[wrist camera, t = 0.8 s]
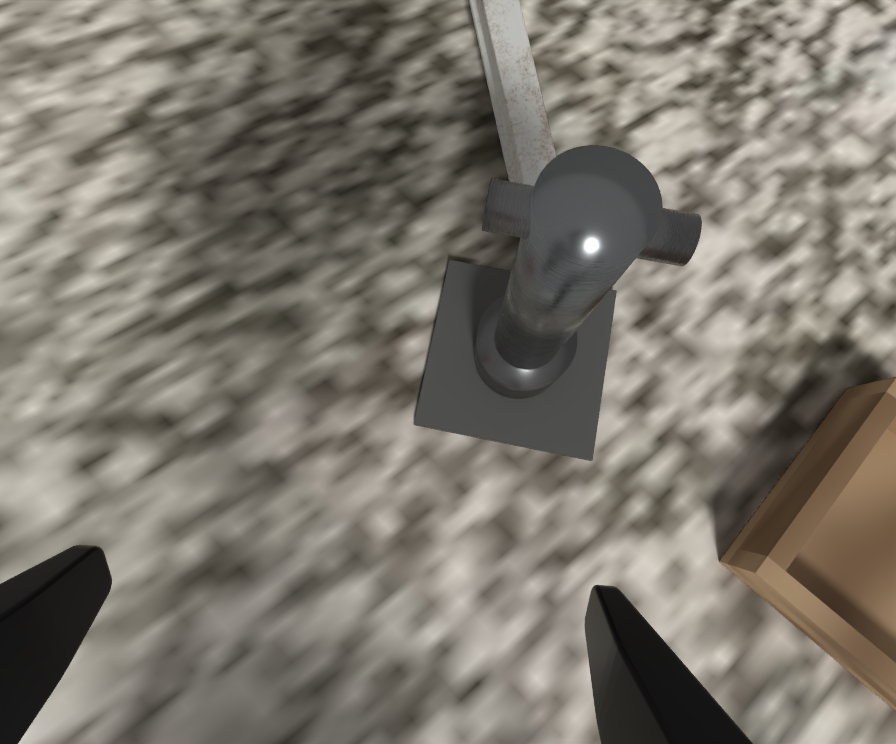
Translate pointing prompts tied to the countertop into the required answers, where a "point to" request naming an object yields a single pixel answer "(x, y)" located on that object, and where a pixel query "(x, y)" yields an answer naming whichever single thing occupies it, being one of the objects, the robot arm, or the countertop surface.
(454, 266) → the mat
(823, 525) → the tray
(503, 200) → the chuck key
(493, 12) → the wrench
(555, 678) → the countertop surface
